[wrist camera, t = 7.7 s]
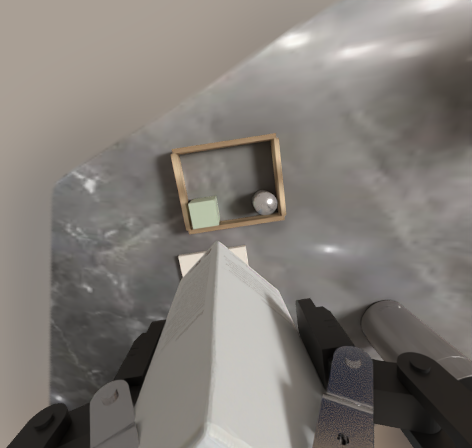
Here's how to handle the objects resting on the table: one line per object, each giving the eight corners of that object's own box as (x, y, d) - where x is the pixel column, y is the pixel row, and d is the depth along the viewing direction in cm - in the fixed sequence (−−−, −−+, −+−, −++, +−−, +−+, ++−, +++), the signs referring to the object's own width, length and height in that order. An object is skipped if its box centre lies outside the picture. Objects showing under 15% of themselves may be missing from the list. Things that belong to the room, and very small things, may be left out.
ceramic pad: (253, 303, 46) (254, 306, 45) (192, 313, 46) (191, 315, 45) (245, 244, 43) (245, 246, 42) (179, 255, 43) (178, 256, 42)
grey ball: (273, 208, 42) (278, 213, 38) (253, 212, 42) (255, 216, 38) (271, 188, 41) (276, 190, 37) (250, 191, 41) (252, 194, 37)
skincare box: (178, 281, 17) (56, 556, 5) (219, 234, 16) (194, 425, 4) (243, 330, 18) (272, 651, 6) (285, 289, 17) (411, 560, 5)
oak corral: (282, 215, 42) (286, 219, 39) (189, 229, 42) (187, 234, 39) (274, 135, 39) (277, 132, 36) (173, 150, 39) (169, 149, 36)
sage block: (219, 218, 42) (218, 225, 37) (197, 221, 42) (193, 229, 37) (216, 195, 41) (214, 199, 36) (192, 199, 41) (188, 203, 36)
